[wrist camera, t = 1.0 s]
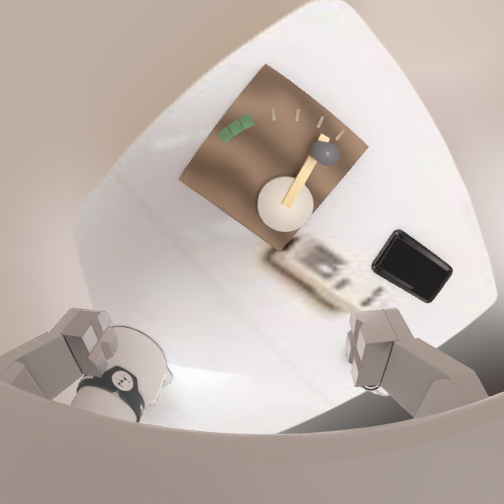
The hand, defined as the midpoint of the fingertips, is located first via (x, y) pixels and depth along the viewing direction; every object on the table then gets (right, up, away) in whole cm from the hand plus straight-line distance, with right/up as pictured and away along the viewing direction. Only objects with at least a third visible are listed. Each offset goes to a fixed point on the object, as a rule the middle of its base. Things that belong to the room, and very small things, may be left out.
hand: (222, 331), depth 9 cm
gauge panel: (+4, +15, +29) cm, 33 cm away
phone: (+27, 0, +35) cm, 45 cm away
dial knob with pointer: (+7, +12, +28) cm, 31 cm away
